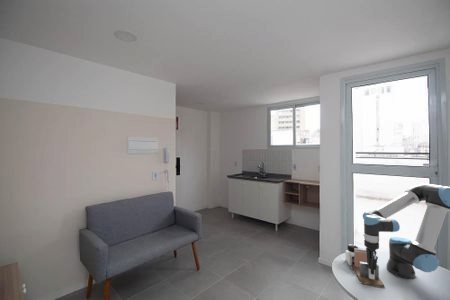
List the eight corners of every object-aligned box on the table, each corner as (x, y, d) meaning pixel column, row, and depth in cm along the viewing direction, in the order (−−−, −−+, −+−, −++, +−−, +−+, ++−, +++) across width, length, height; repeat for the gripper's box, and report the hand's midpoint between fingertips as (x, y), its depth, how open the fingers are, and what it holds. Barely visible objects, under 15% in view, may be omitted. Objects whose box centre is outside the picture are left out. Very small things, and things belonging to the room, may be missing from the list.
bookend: (377, 277, 130) (377, 263, 131) (378, 279, 129) (378, 265, 129) (359, 275, 133) (359, 261, 134) (360, 276, 132) (360, 263, 132)
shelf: (371, 268, 143) (371, 266, 143) (384, 287, 123) (384, 285, 123) (351, 265, 147) (351, 263, 147) (361, 284, 127) (361, 281, 127)
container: (361, 266, 146) (360, 248, 146) (349, 265, 148) (349, 247, 148) (356, 260, 154) (356, 243, 154) (345, 259, 155) (345, 243, 155)
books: (369, 266, 143) (369, 250, 143) (370, 268, 141) (370, 251, 141) (354, 264, 146) (353, 248, 146) (355, 266, 143) (354, 249, 144)
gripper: (361, 235, 134) (361, 271, 133) (368, 244, 121) (368, 283, 121) (374, 237, 131) (374, 273, 131) (383, 246, 119) (383, 286, 119)
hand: (371, 278), depth 126 cm, fingers closed
